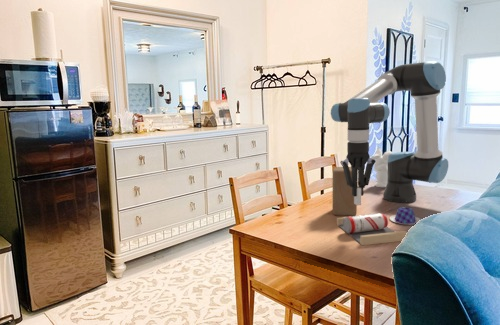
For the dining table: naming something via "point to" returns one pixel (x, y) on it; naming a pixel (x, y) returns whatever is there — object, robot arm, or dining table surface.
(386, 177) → the cherub figurine
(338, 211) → the wooden block
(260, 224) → the dining table surface
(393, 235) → the cradle
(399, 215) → the pudding
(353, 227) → the beer can
